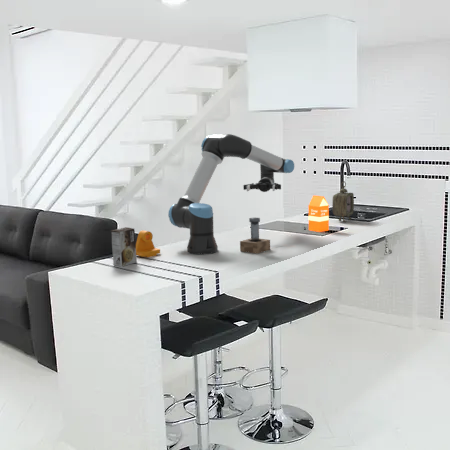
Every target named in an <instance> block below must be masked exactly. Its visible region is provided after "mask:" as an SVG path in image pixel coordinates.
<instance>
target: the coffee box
mask: <svg viewBox="0 0 450 450" xmlns="http://www.w3.org/2000/svg"><path fill="white" fill-rule="evenodd" d="M110 234H111V248H112V249H111V250H112V262H113V263H112V264H113V266H118V267H124V266H128V265H132V264H135V263H138V262H137V260H138V259H137V258H138V257H137V255H136V235H135V234H136V233H135V228H134V227H133V228H132V227H121V228H116V229H111V230H110Z"/></svg>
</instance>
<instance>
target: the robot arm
mask: <svg viewBox="0 0 450 450" xmlns="http://www.w3.org/2000/svg"><path fill="white" fill-rule="evenodd" d="M200 147H201V156H202V159H201V160H200V162H199V164H198V167H197V169H196V171H195V173H194V174H193V176H192V179H191V181H190V183H189V184H188V187H187V190H186V191H185V193H184V195H183V196H181V197H179V199H178V201H177V203H174V204H172V205H171V206H170V207H169V209H168V212H167V213H168V219H169V222H170V224H171V225H173V226H174V227H177V228H180V229H189V239H188V243H187V246H186V252H187V254H193V255H209V254H214V253H217V252H218V251H219V250H218V249H219V248H218V245H217V244H218V243H217V241H216V238H215V235H214V212H213V211H214V210H213V206H212V205H210V204H207V203H200V201H201V200H202V198H203V197H204V194H205V192H206V189H207V187H208V185H209V183H210V181H211V179H212V177H213V175H214V173H215V170H216V168H217V167H218V165H221V164H223V163H222V162H223V161H224V159H225V157H226V158H229V157H231V158H240V159H242V160H243V159H244V160H245V159H247V160H249V161H253V162H255V163H257V164H260V165H259V166H260V179H259V181H258V182H256V183H254V182H252V183H248V184H243V190H244V191H246V192H249V191H251V190H259V191H260V192H262V193H267V192H269V191H270V190H272V192H275V191H276V190H282V184H279V183H278V182H275V178H274V175H275V174H274V173H277V174H278V173H280V174H282V173H283V174H290V173H292V172H293V171H294V169H295V163H294V161H293V159H288V158H286V159H285V158H283V157H281V156H279V155H276V154H274V153H272V152H269V151H267V150H265V149H263V148H261V147H260V148H259V147H258V146H255V145H253V144H252V142H250V141H249V140H246V139H245V138H242V137H240V136H238V135H235V134H232V133H231V134H230V133H225V134H217V133H215V134H214V133H213V134H209V135H207V136H206V137H204V138H203V140H202V142H201V146H200Z"/></svg>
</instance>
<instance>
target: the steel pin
mask: <svg viewBox="0 0 450 450" xmlns="http://www.w3.org/2000/svg"><path fill="white" fill-rule="evenodd" d="M248 219H249V220H248V222H249V223H250V238H251V241H252V242H258V241H259V239H260V222H261V218H260V217H250V218H248Z"/></svg>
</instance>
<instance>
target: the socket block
mask: <svg viewBox="0 0 450 450" xmlns="http://www.w3.org/2000/svg"><path fill="white" fill-rule="evenodd" d="M239 248H240V249H239V251H240V252H241V253H243V252H244V253H249V254H256V255H257V254H260V253H264V251H265V252H268V251H271V239H266V238H259V241H258V242H252V241H251V237H250V238H247V239H242V240H240V241H239Z"/></svg>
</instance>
